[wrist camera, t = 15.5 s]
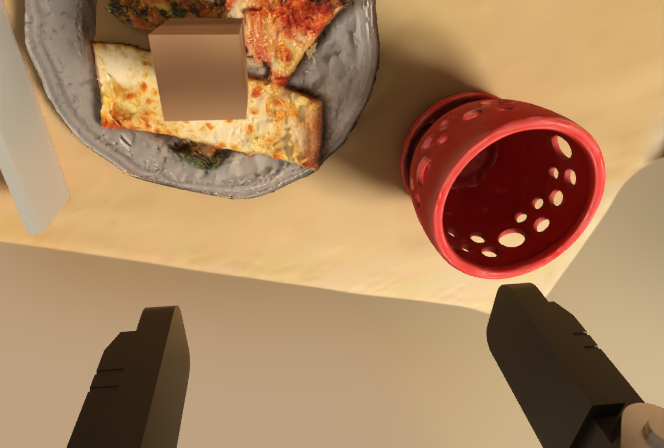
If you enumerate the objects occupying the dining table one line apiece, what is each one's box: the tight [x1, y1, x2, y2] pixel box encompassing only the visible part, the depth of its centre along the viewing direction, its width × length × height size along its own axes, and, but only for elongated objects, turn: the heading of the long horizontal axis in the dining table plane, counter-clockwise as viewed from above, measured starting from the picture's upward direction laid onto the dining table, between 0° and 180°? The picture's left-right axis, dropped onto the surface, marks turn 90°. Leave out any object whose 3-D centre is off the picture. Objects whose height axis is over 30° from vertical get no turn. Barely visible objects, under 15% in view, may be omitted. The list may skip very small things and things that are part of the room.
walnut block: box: [148, 18, 249, 121], centre depth 30 cm, size 5×5×7 cm
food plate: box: [24, 0, 380, 199], centre depth 34 cm, size 25×23×4 cm
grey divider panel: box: [0, 0, 70, 235], centre depth 31 cm, size 20×1×6 cm, turn 0°
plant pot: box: [400, 92, 605, 279], centre depth 37 cm, size 13×13×12 cm
